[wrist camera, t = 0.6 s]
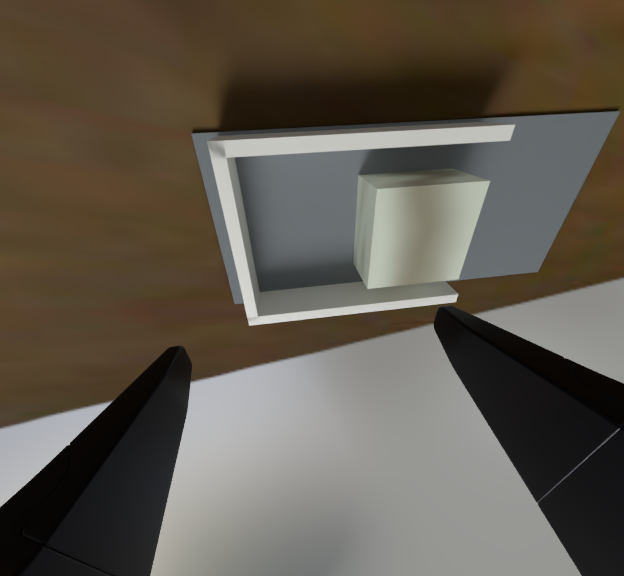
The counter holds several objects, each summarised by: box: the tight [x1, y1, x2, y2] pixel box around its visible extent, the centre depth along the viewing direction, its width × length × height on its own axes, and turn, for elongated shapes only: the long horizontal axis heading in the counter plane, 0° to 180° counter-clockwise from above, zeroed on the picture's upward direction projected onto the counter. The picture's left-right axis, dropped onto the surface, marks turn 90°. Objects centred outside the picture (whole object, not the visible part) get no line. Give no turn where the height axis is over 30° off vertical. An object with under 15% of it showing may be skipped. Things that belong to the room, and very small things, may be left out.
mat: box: [192, 111, 620, 304], centre depth 21 cm, size 29×13×1 cm, turn 92°
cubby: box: [207, 122, 515, 326], centre depth 19 cm, size 17×13×4 cm
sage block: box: [353, 168, 490, 289], centre depth 19 cm, size 7×7×4 cm
